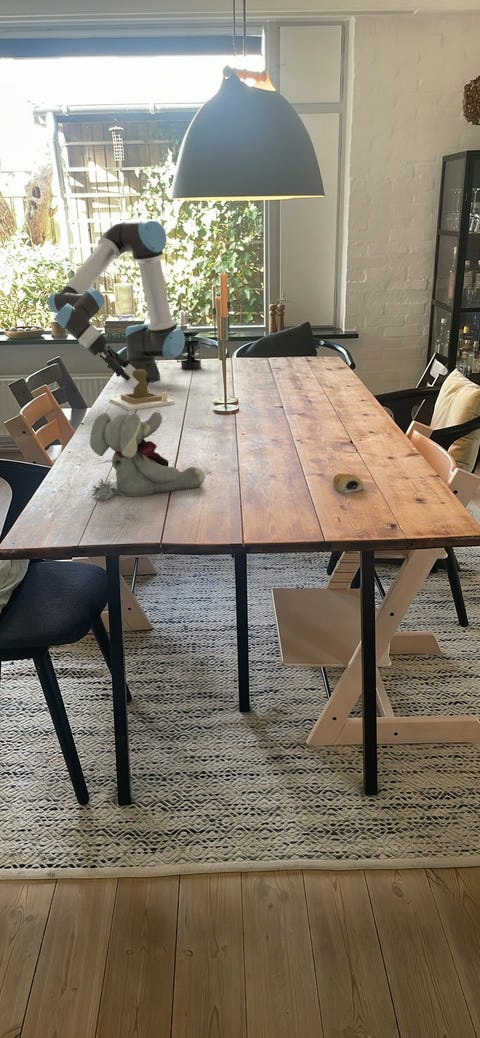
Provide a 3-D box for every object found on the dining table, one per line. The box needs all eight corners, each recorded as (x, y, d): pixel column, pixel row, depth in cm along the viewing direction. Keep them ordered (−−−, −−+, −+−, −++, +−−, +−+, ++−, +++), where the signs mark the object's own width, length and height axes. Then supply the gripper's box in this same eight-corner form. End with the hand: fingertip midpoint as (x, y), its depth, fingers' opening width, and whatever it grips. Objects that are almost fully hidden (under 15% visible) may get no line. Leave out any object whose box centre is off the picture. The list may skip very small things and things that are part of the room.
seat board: (153, 395, 296) (152, 385, 295) (174, 404, 282) (173, 392, 280) (109, 401, 288) (108, 390, 286) (129, 410, 273) (128, 398, 272)
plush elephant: (156, 468, 206) (152, 392, 199) (209, 487, 191) (206, 404, 184) (68, 491, 190) (60, 408, 183) (118, 513, 174) (111, 423, 167)
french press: (204, 366, 358) (202, 315, 349) (201, 370, 349) (199, 318, 341) (179, 366, 359) (177, 316, 351) (175, 370, 350) (173, 318, 342)
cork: (151, 397, 287) (149, 368, 284) (147, 401, 282) (145, 371, 278) (135, 397, 288) (133, 368, 284) (131, 401, 282) (129, 371, 279)
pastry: (327, 483, 192) (327, 468, 191) (352, 481, 194) (353, 466, 192) (339, 494, 184) (340, 479, 183) (366, 492, 185) (367, 477, 184)
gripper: (92, 343, 289) (134, 382, 294) (81, 353, 265) (127, 396, 271) (105, 329, 287) (147, 368, 293) (95, 338, 264) (142, 380, 269)
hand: (138, 381), depth 282 cm, fingers open, 13 cm apart
